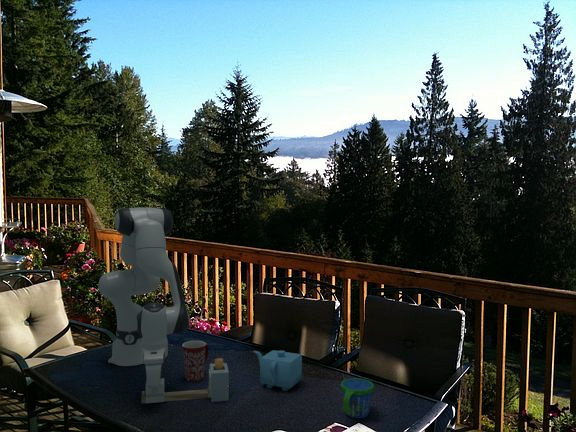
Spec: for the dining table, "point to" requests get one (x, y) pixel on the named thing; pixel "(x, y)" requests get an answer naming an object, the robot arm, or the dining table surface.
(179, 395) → the rail
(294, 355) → the teapot
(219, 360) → the plunger
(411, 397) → the dining table surface
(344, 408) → the snack cup
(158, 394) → the carriage
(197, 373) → the mug
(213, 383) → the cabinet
